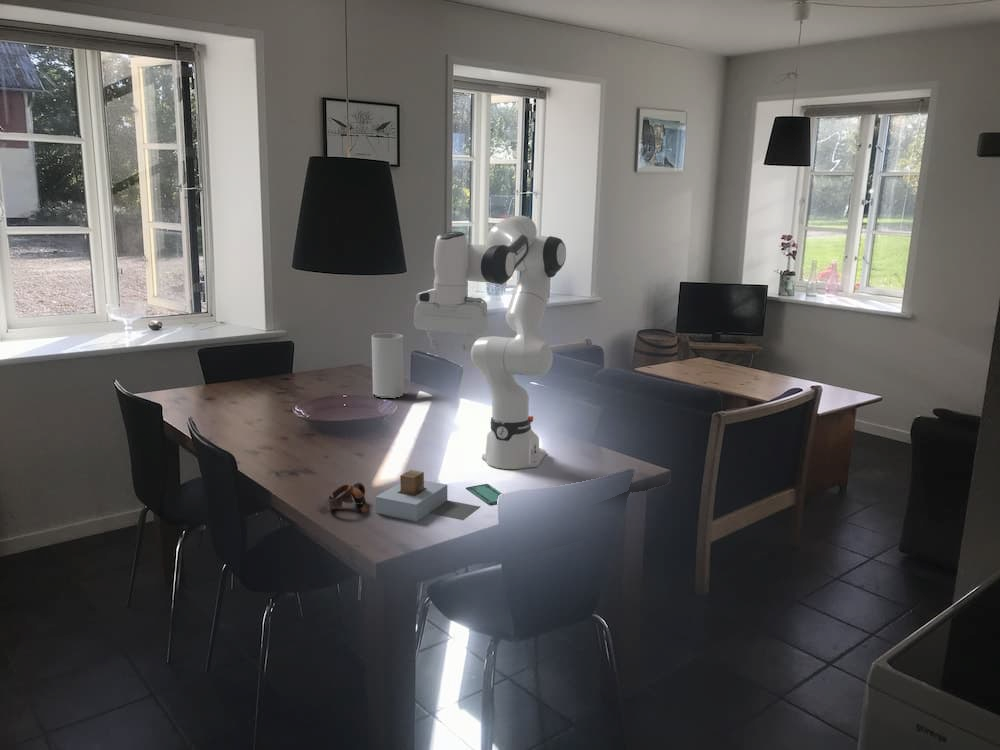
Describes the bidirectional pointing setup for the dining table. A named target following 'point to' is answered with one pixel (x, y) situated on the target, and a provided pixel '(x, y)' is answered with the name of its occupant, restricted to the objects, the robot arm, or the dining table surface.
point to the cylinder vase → (387, 364)
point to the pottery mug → (348, 496)
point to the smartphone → (485, 493)
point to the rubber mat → (454, 510)
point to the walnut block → (412, 482)
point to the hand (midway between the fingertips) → (450, 348)
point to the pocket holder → (411, 501)
